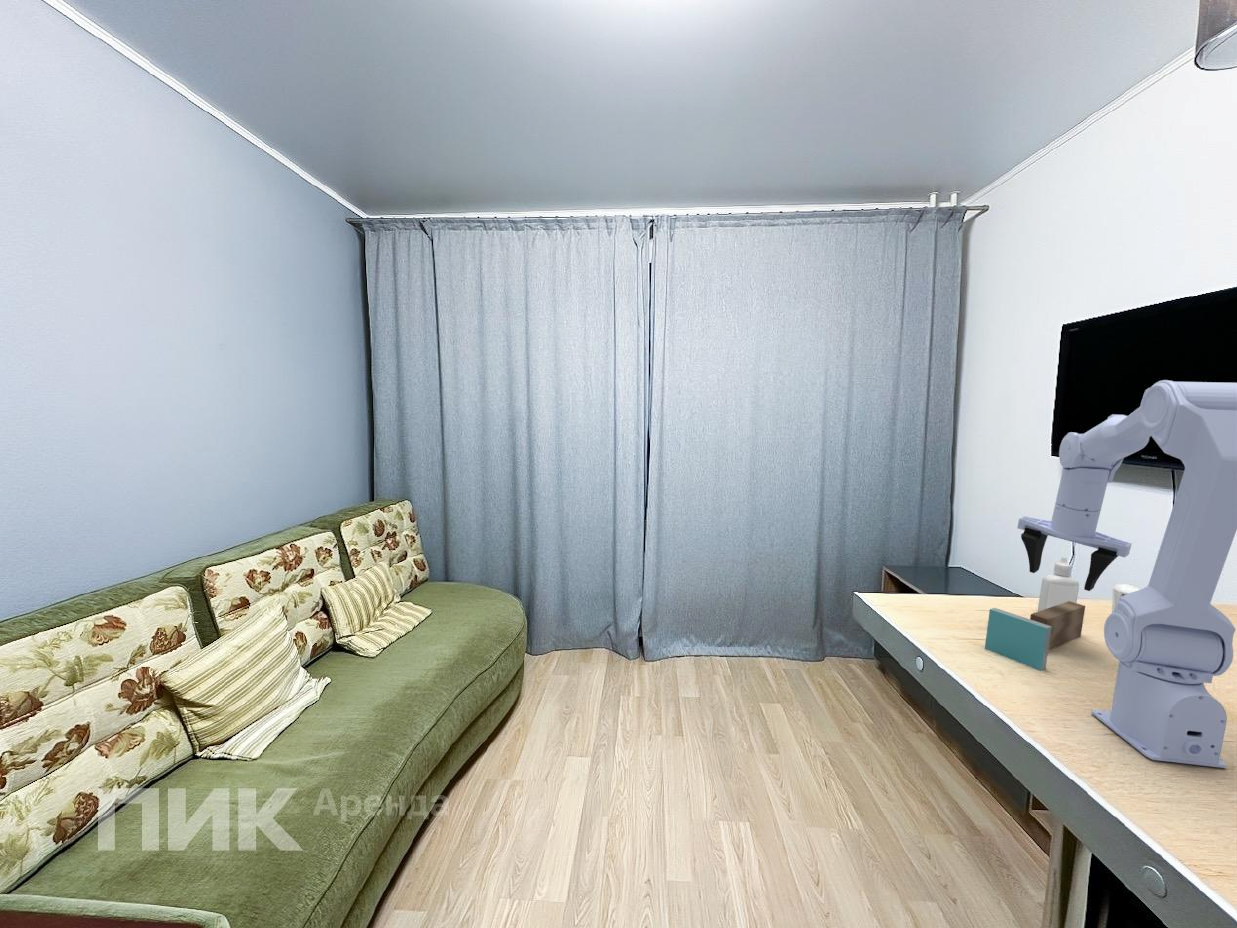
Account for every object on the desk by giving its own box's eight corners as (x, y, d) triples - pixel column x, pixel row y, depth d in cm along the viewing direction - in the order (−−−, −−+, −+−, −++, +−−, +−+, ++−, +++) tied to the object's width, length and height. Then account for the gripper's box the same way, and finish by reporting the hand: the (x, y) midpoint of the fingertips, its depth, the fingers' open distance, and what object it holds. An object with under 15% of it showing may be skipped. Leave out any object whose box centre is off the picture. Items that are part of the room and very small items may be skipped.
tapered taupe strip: (1042, 653, 87) (1047, 619, 87) (1026, 647, 89) (1030, 614, 89) (1080, 637, 94) (1085, 605, 93) (1064, 632, 96) (1068, 601, 95)
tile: (1045, 668, 82) (1051, 626, 81) (1040, 671, 81) (1046, 628, 80) (989, 646, 89) (994, 607, 88) (984, 648, 88) (989, 609, 87)
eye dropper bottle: (1074, 623, 100) (1084, 563, 98) (1037, 615, 103) (1045, 556, 102) (1073, 616, 103) (1082, 558, 101) (1037, 609, 106) (1045, 552, 105)
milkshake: (1152, 640, 93) (1161, 587, 92) (1117, 637, 94) (1126, 583, 93) (1133, 629, 98) (1141, 578, 96) (1100, 626, 99) (1108, 575, 97)
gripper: (1145, 513, 83) (1124, 590, 86) (1035, 489, 94) (1021, 558, 98) (1130, 523, 79) (1109, 603, 83) (1018, 497, 91) (1004, 568, 94)
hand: (1060, 579), depth 90 cm, fingers open, 7 cm apart
